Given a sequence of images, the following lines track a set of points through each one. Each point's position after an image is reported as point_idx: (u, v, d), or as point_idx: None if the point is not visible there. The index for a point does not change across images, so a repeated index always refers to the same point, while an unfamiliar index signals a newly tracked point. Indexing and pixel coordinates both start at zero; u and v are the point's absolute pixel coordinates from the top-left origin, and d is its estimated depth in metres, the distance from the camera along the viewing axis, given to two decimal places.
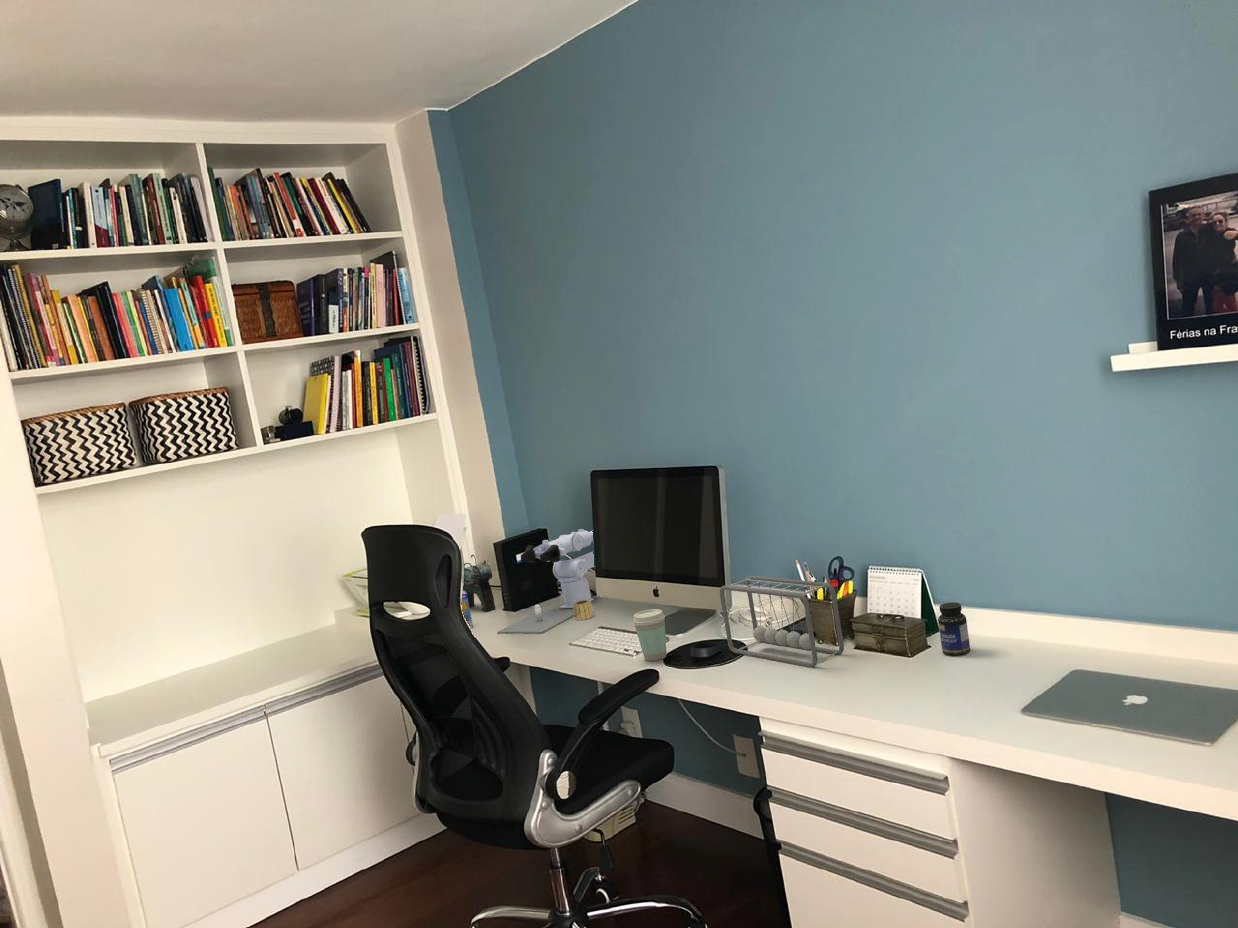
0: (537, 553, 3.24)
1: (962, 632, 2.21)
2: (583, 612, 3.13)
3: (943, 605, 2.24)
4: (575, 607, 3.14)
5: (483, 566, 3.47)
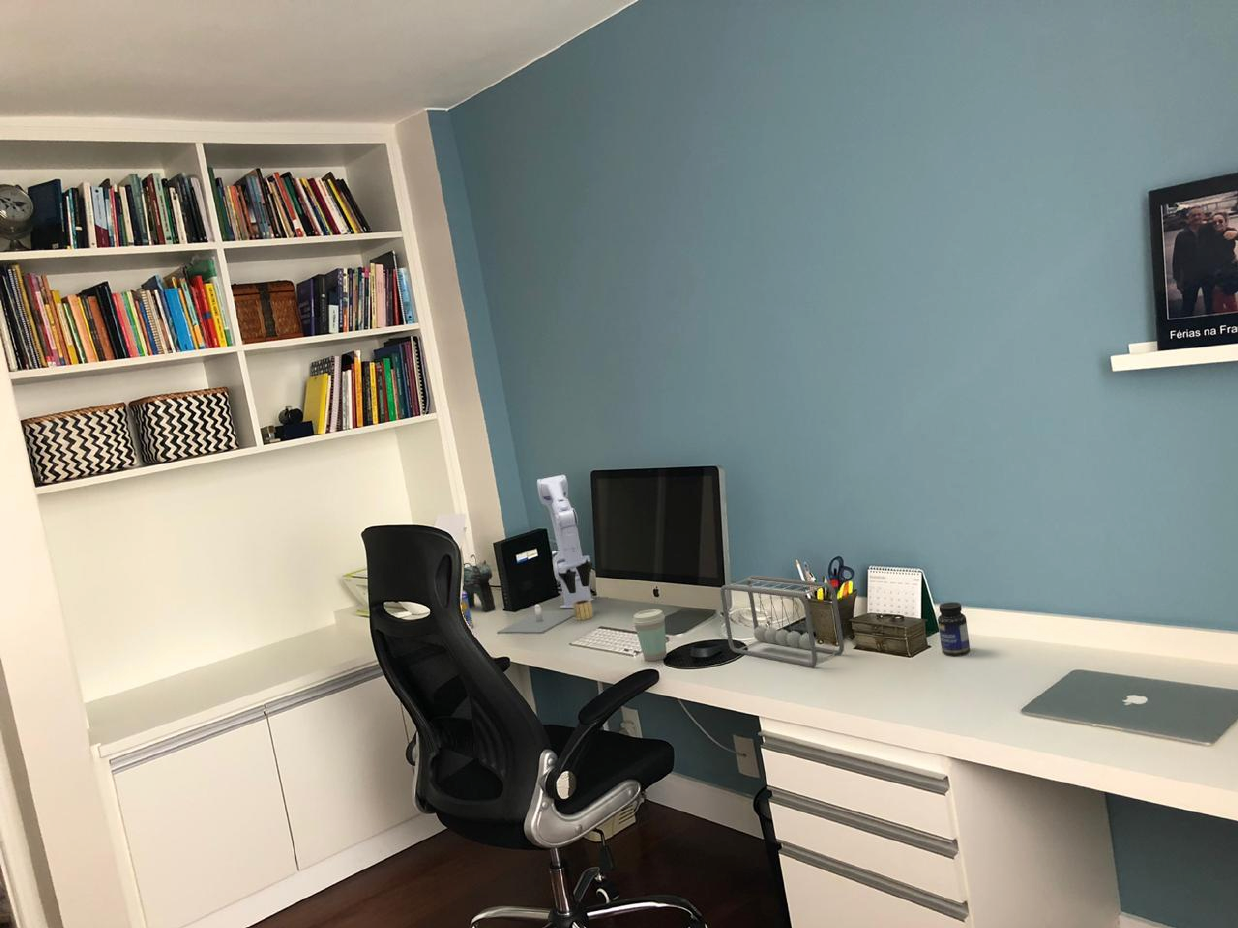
0: None
1: (962, 632, 2.21)
2: (583, 612, 3.13)
3: (943, 605, 2.24)
4: (575, 607, 3.14)
5: (483, 566, 3.47)
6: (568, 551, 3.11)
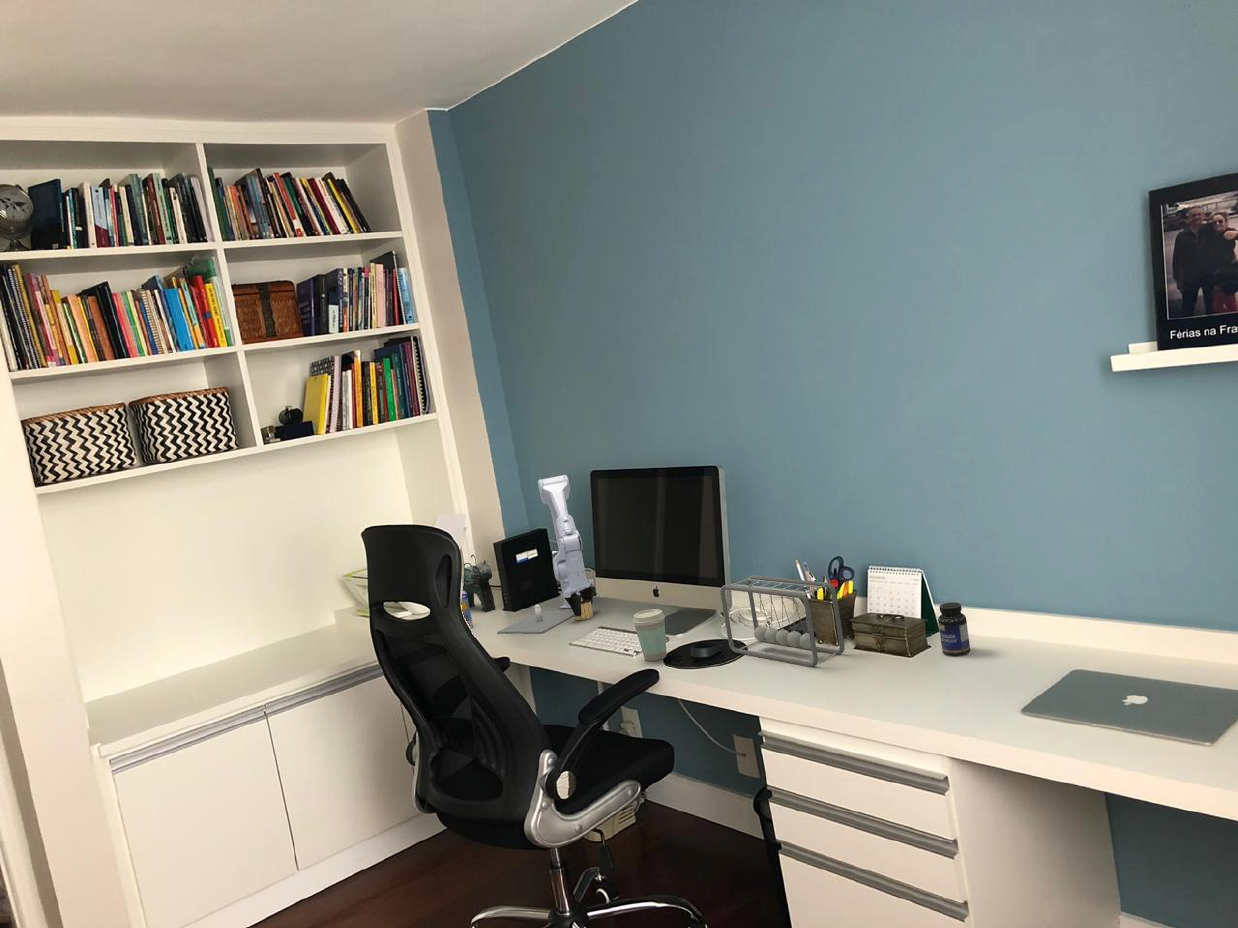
0: None
1: (962, 632, 2.21)
2: (583, 612, 3.13)
3: (943, 605, 2.24)
4: None
5: (483, 566, 3.47)
6: (573, 575, 3.12)
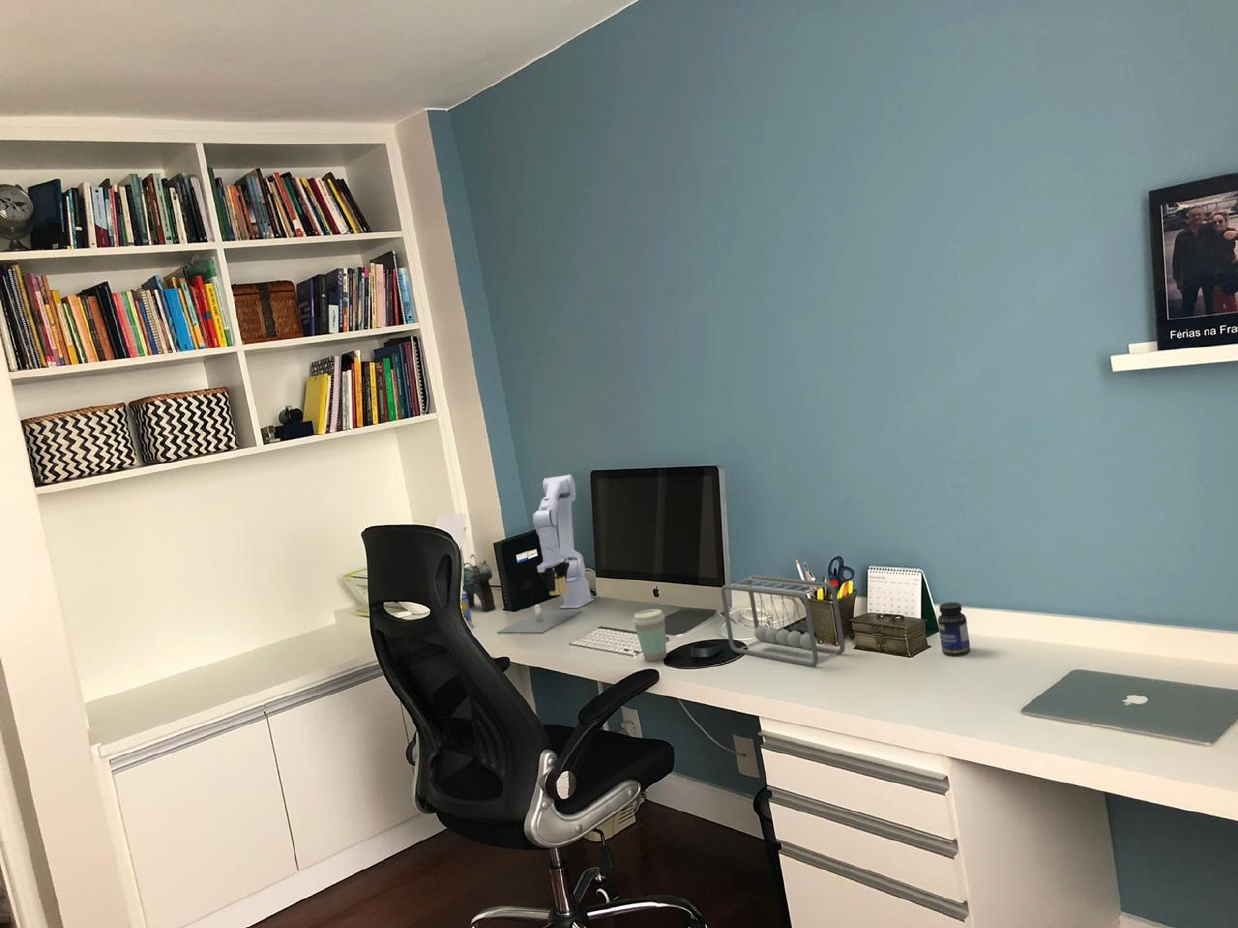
0: None
1: (962, 632, 2.21)
2: (557, 587, 3.14)
3: (943, 605, 2.24)
4: None
5: (483, 566, 3.47)
6: (547, 550, 3.13)
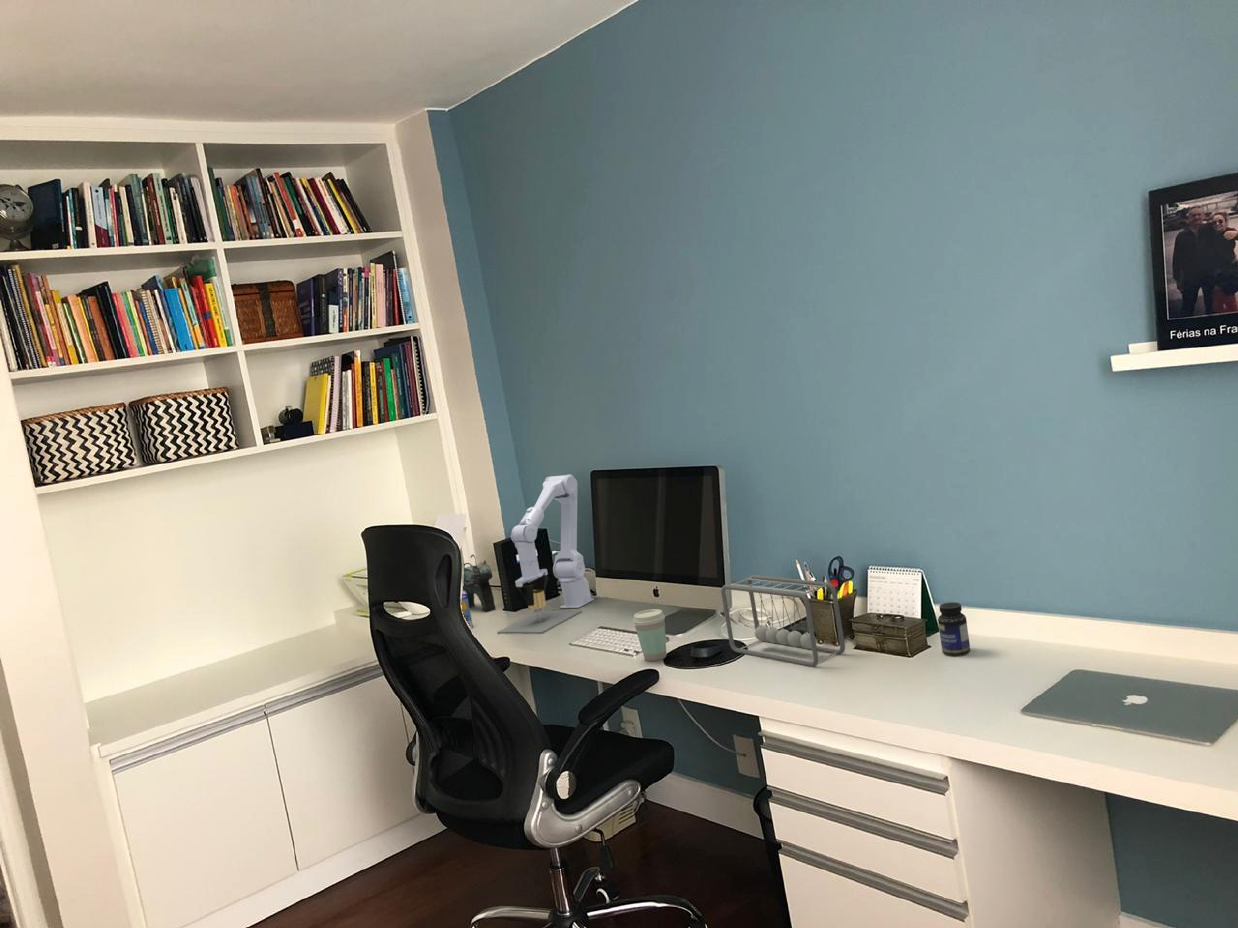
0: None
1: (962, 632, 2.21)
2: (536, 601, 3.16)
3: (943, 605, 2.24)
4: None
5: (483, 566, 3.47)
6: (525, 565, 3.15)
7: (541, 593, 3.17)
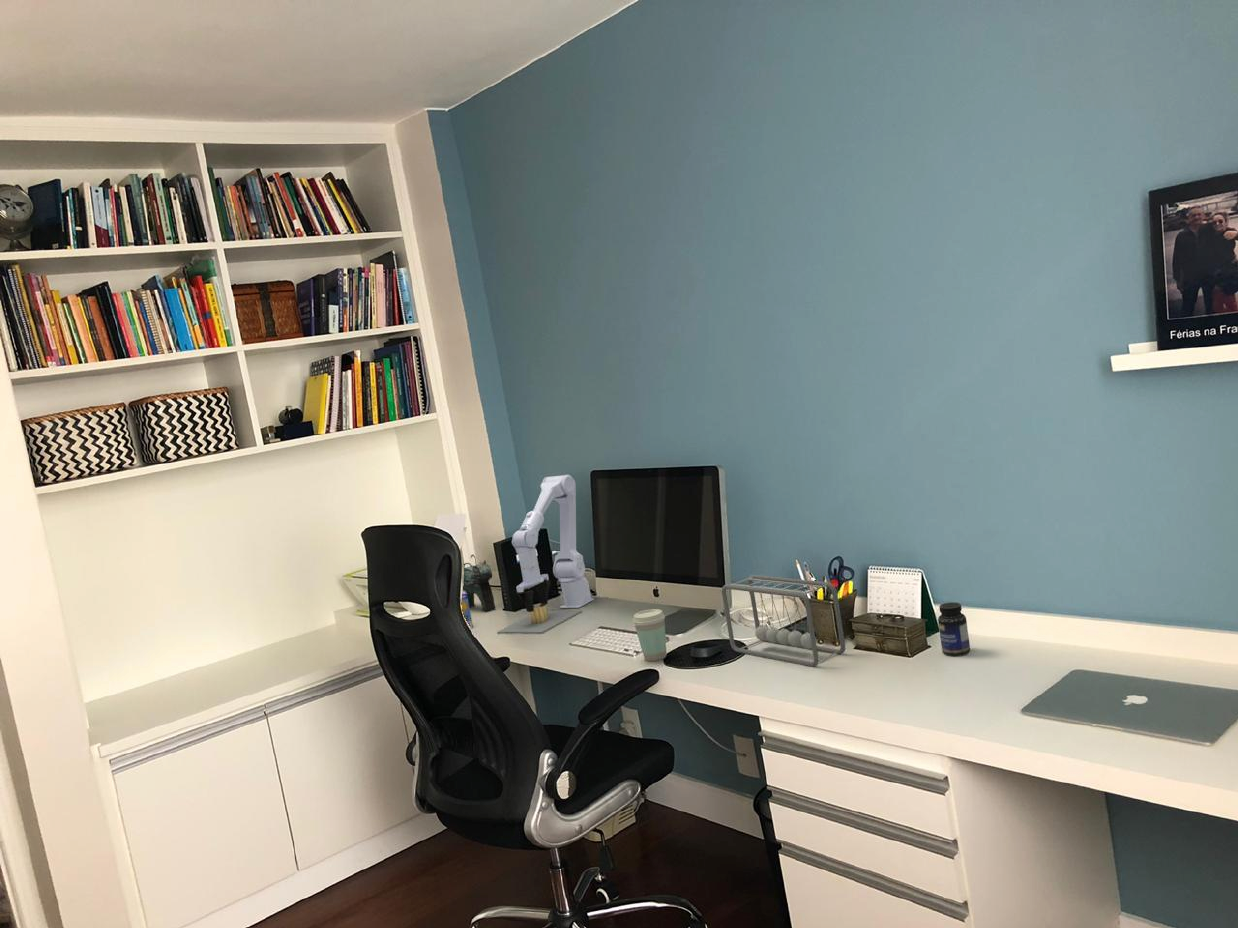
0: None
1: (962, 632, 2.21)
2: (538, 616, 3.16)
3: (943, 605, 2.24)
4: None
5: (483, 566, 3.47)
6: (526, 570, 3.15)
7: (544, 607, 3.17)
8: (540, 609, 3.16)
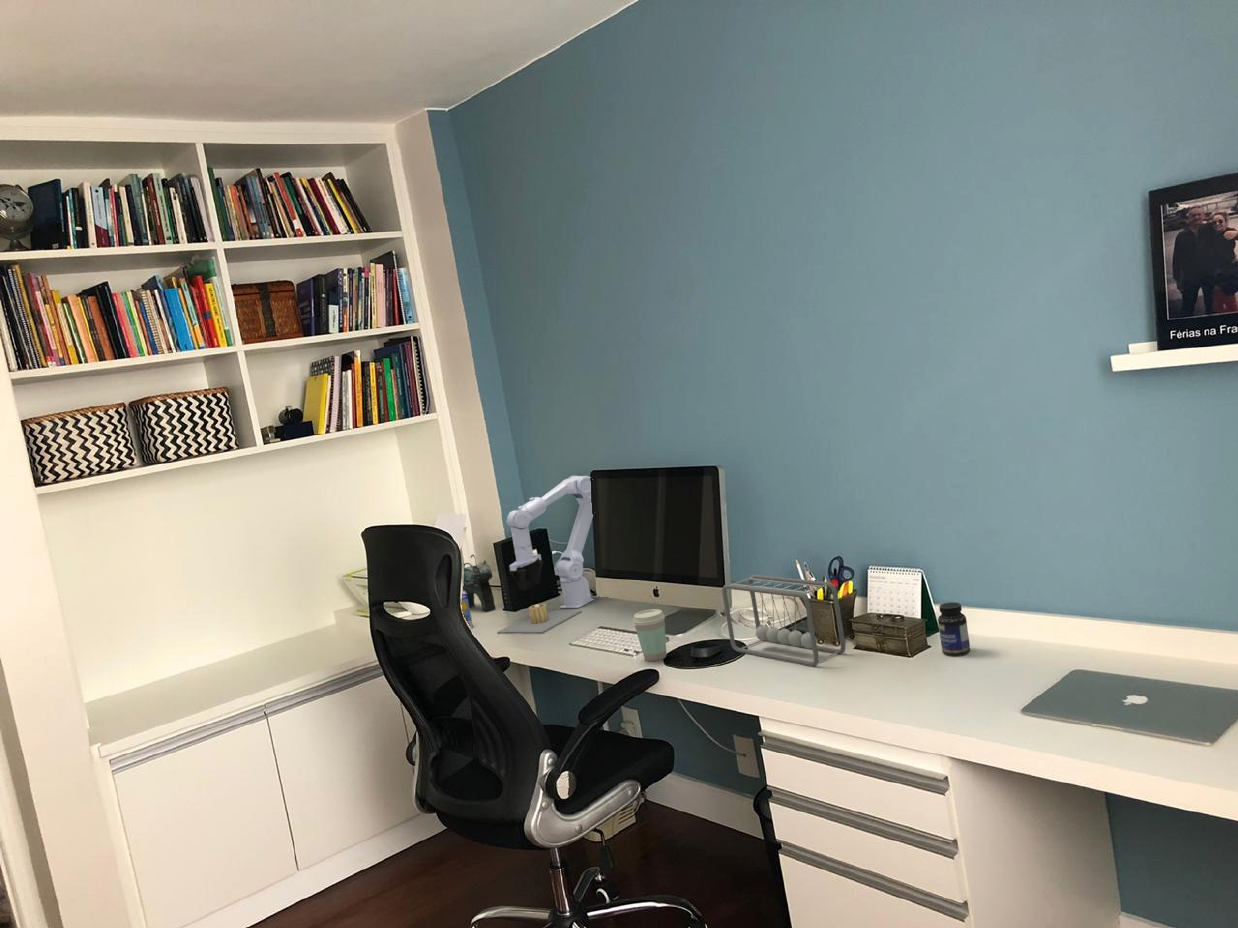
0: None
1: (962, 632, 2.21)
2: (538, 616, 3.16)
3: (943, 605, 2.24)
4: (530, 611, 3.17)
5: (483, 566, 3.47)
6: (519, 549, 3.23)
7: (544, 607, 3.17)
8: (540, 609, 3.16)
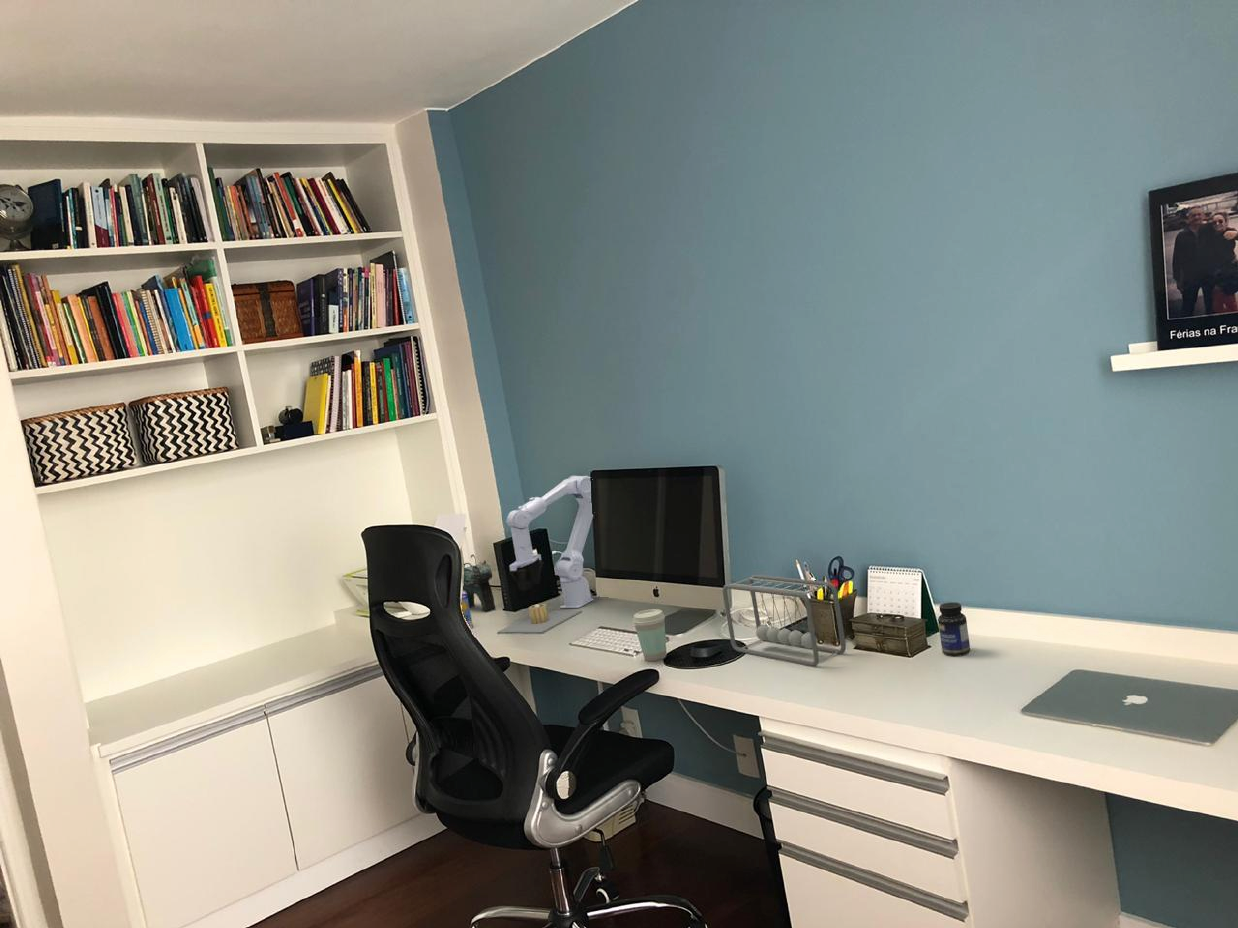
0: None
1: (962, 632, 2.21)
2: (538, 616, 3.16)
3: (943, 605, 2.24)
4: (530, 611, 3.17)
5: (483, 566, 3.47)
6: (519, 549, 3.23)
7: (544, 607, 3.17)
8: (540, 609, 3.16)
